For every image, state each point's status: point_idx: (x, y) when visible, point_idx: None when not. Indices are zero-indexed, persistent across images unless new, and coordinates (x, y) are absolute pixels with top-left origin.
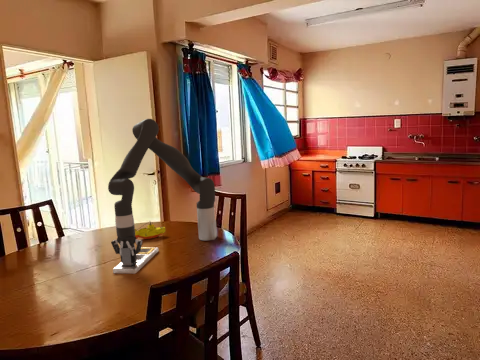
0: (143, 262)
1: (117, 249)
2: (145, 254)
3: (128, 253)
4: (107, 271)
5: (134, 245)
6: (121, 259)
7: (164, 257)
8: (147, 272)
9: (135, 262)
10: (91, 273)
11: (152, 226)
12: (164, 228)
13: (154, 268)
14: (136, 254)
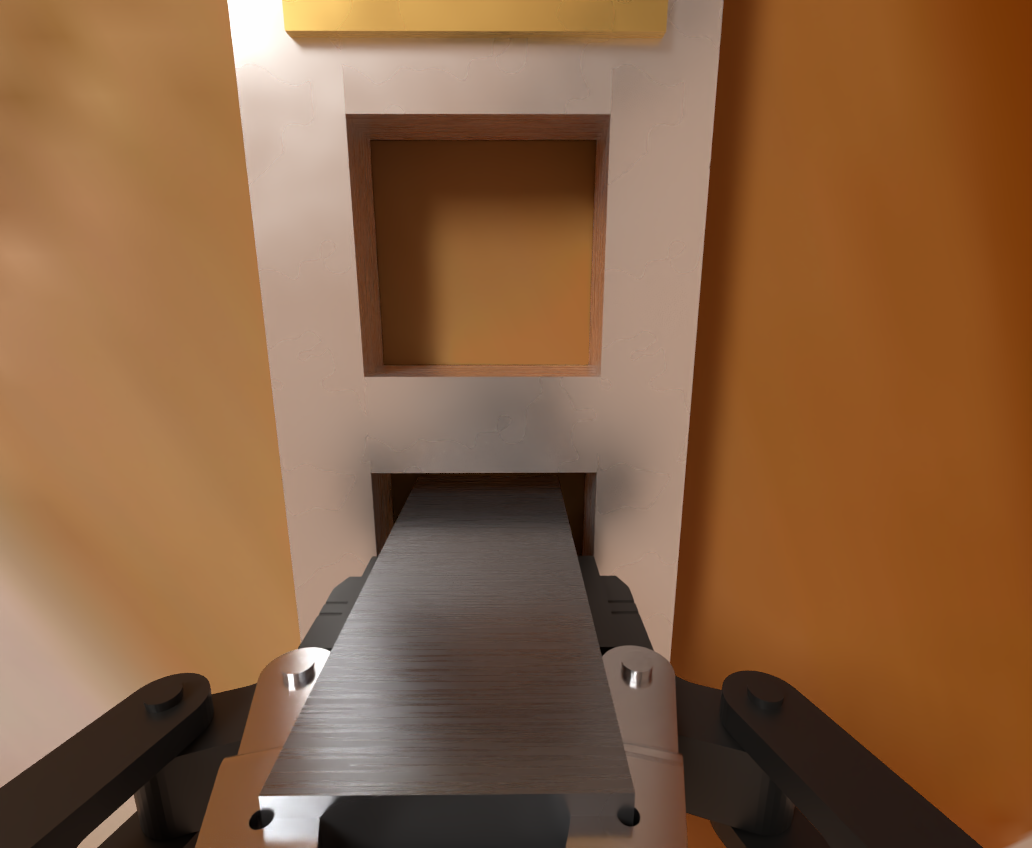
0: (680, 443)
1: (91, 766)
2: (597, 78)
3: None
4: (212, 635)
5: (682, 833)
6: None
7: (941, 36)
8: (799, 645)
9: (563, 507)
10: (30, 696)
11: None
12: None
13: (865, 523)
14: (384, 81)
